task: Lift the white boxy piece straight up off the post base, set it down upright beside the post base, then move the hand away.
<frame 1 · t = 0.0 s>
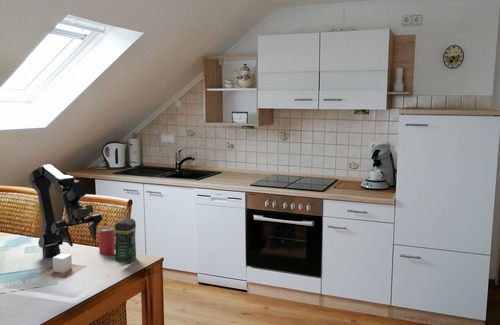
hand: (83, 243, 175), 15 cm above the table, tool tilted 35°, fingers open, 9 cm apart
beer can: (107, 255, 205), on the table
post base: (62, 273, 183), on the table
coffee jar: (126, 261, 198), on the table
white boxy piece: (62, 269, 183), point 1 cm above the table, touching post base
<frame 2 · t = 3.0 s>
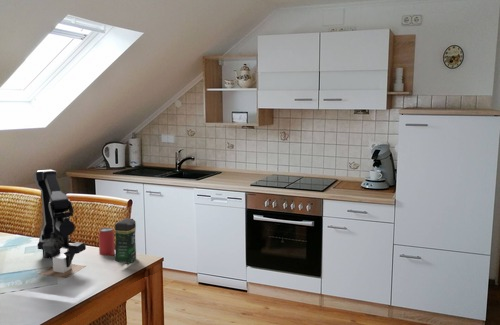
hand: (62, 266, 183), 3 cm above the table, tool pointing down, fingers closed on white boxy piece, 5 cm apart
white boxy piece: (62, 269, 183), point 1 cm above the table, touching gripper, post base
everything else where it was.
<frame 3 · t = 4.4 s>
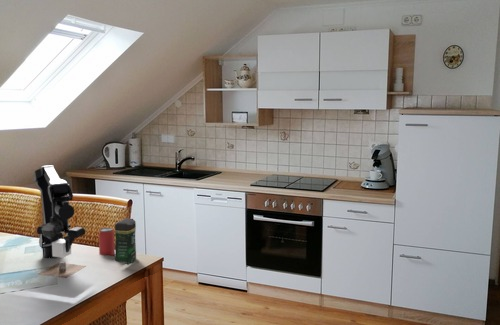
hand: (61, 251, 182), 9 cm above the table, tool pointing down, fingers closed on white boxy piece, 5 cm apart
white boxy piece: (62, 255, 182), point 8 cm above the table, touching gripper
everything else where it was.
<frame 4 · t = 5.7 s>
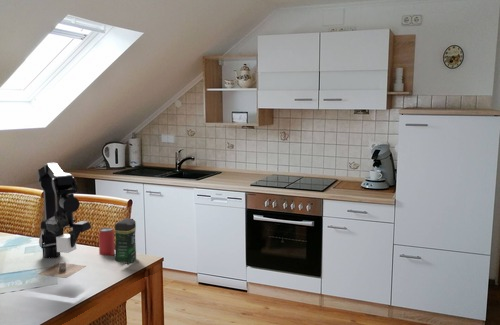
hand: (66, 246, 175), 14 cm above the table, tool pointing down, fingers closed on white boxy piece, 5 cm apart
white boxy piece: (66, 250, 175), point 12 cm above the table, touching gripper
everything else where it was.
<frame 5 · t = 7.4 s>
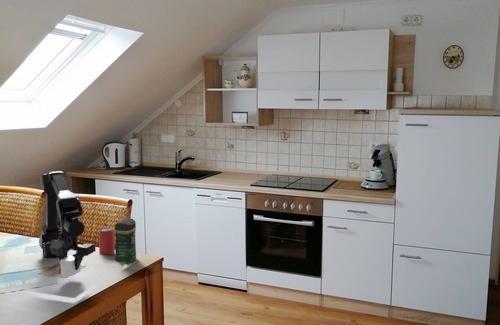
hand: (70, 269, 172), 6 cm above the table, tool pointing down, fingers closed on white boxy piece, 5 cm apart
white boxy piece: (70, 272, 172), point 5 cm above the table, touching gripper
everything else where it was.
when the fingers open (3 cm above the table, at t = 8.8 s): white boxy piece drops 2 cm, on the table.
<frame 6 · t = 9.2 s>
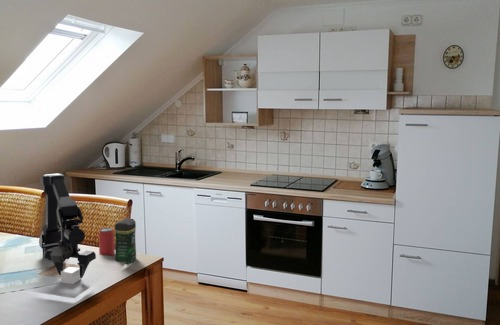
hand: (71, 276, 172), 3 cm above the table, tool pointing down, fingers open, 9 cm apart
white boxy piece: (71, 284, 173), on the table
everything else where it was.
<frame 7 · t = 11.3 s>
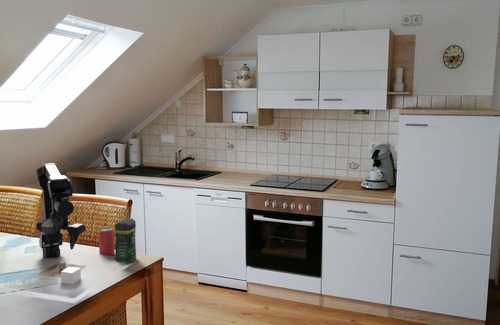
hand: (61, 247, 178), 12 cm above the table, tool pointing down, fingers open, 9 cm apart
nothing on the table moved.
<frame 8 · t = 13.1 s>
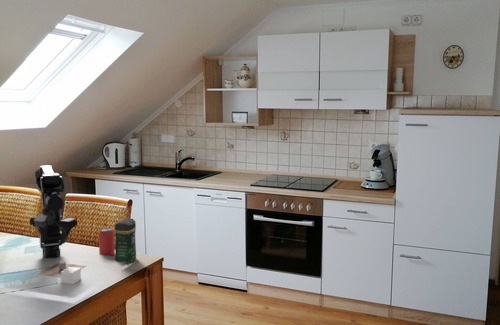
hand: (54, 242, 185), 12 cm above the table, tool pointing down, fingers open, 9 cm apart
nothing on the table moved.
at the end: white boxy piece inside the target area on the table beside the post base (0.1 cm from its centre), on the table; white boxy piece tilted 0°; the gripper is holding nothing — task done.
